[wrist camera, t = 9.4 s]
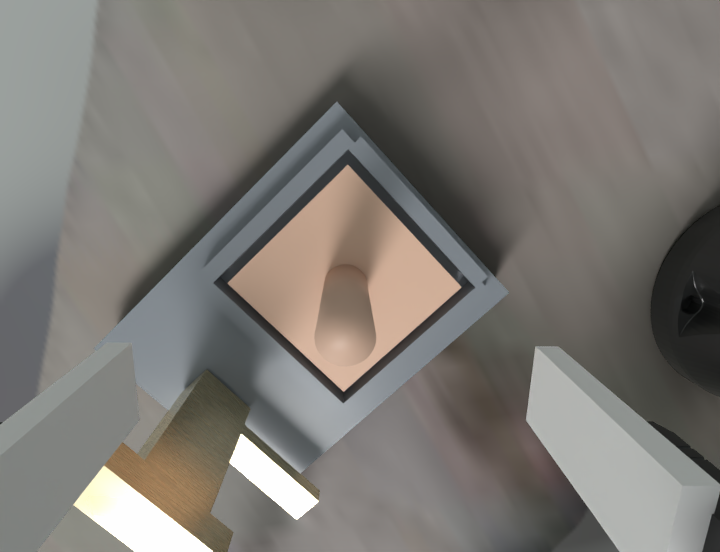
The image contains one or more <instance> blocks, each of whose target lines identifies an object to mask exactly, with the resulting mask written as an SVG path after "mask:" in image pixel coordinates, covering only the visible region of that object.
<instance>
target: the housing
mask: <svg viewBox="0 0 720 552" xmlns="http://www.w3.org/2000/svg"><path fill="white" fill-rule="evenodd" d="M347 165H349V166H350V167H351V169H352V170H353V171H354V172H355V173H356V174H357V175H358V176H359V177H360V178H361V179H362V180H363V181H364V183H365V184H366V185H367V186H368V187H369V188H370V189H371V190H372V191H373V192H374V193H375V194H376V195H377V197H378V198H379V199H380V200H381V201H382V202H383V203H384V204H385V205H386V206H387V207H388V208H389V209H390V211H391V212H392V213H393V214H394V215H395V216H396V217H397V218H398V219H399V220H400V221H401V222H402V223H403V225H404V226H405V227H406V228H407V229H408V230H409V231H410V232H411V233H412V234H413V235H414V236H415V237H416V239H417V240H418V241H419V242H420V243H421V244H422V245H423V246H424V247H425V248H426V249H427V250H428V251H429V253H430V254H431V255H432V256H433V257H434V258H435V259H436V260H437V261H438V262H439V263H440V264H441V265H442V267H443V268H444V269H445V270H446V271H447V272H448V273H449V274H450V275H451V276H452V277H453V278H454V279H455V281H456V282H457V283H458V284H459V285H460V286H461V288H460V289H459V290H458V291H457V292H456V293H455V294H454V295H452V296H451V297H450V298H449V299H448V300H447V301H446V302H445V303H443V304H442V305H441V306H440V307H439V308H438V309H437V310H435V311H434V312H433V313H432V314H431V315H430V316H429V317H428V318H426V319H425V320H424V321H423V322H422V323H421V324H420V325H419V326H417V327H416V328H415V329H414V330H413V331H412V332H411V333H409V334H408V335H407V336H406V337H405V338H404V339H403V340H402V341H400V342H399V343H398V344H397V345H396V346H395V347H394V348H393V349H391V350H390V351H389V352H388V353H387V354H386V355H385V356H383V357H382V358H381V359H380V360H379V361H378V362H377V363H376V364H374V365H373V366H372V367H371V368H370V369H369V370H368V371H367V372H365V373H364V374H363V375H362V376H361V377H360V378H359V379H357V380H356V381H355V382H354V383H353V384H352V385H351V386H350V387H348V388H347V389H346V390H345V391H344V392H343V391H342V390H341V389H340V388H339V387H338V386H337V385H336V384H335V383H334V382H333V381H332V380H330V379H329V378H328V377H327V376H326V375H325V374H324V373H323V372H322V371H321V370H320V369H319V368H318V367H317V366H315V365H314V364H313V363H312V362H311V361H310V360H309V359H308V358H307V357H306V356H305V355H304V354H303V353H302V352H300V351H299V350H298V349H297V348H296V347H295V346H294V345H293V344H292V343H291V342H290V341H289V340H288V339H287V338H285V337H284V336H283V335H282V334H281V333H280V332H279V331H278V330H277V329H276V328H275V327H274V326H273V325H272V324H270V323H269V322H268V321H267V320H266V319H265V318H264V317H263V316H262V315H261V314H260V313H259V312H258V311H257V310H255V309H254V308H253V307H252V306H251V305H250V304H249V303H248V302H247V301H246V300H245V299H244V298H243V297H242V296H240V295H239V294H238V293H237V292H236V291H235V290H234V289H233V288H232V287H231V286H230V285H229V284H228V282H229V281H230V280H231V279H232V278H233V277H234V276H235V275H236V274H237V273H238V272H239V271H240V270H241V269H242V268H243V267H244V266H245V265H246V264H247V263H248V262H249V261H250V260H251V259H252V258H253V257H254V256H255V255H256V254H257V253H259V252H260V251H261V250H262V249H263V248H264V247H265V246H266V245H267V244H268V243H269V242H270V241H271V240H272V239H273V238H274V237H275V236H276V235H277V234H278V233H279V232H280V231H281V230H282V229H283V228H284V227H285V226H286V225H287V224H288V223H289V222H290V221H291V220H292V219H293V218H294V217H295V216H296V215H297V214H298V213H299V212H300V211H301V210H302V209H303V208H304V207H305V206H306V205H307V204H308V203H309V202H310V201H311V200H312V199H313V198H314V197H315V196H316V195H317V194H318V193H319V192H320V191H322V190H323V189H324V188H325V187H326V186H327V185H328V184H329V183H330V182H331V181H332V180H333V179H334V178H335V177H336V176H337V175H338V174H339V173H340V172H341V171H342V170H343V169H344V168H345V167H346V166H347ZM508 293H509V292H508V291H507V290H506V289H505V287H504V286H503V285H502V284H501V283H500V282H499V281H498V280H497V279H496V277H495V276H494V275H493V274H492V273H491V272H490V271H489V270H488V269H487V267H486V266H485V265H484V264H483V263H482V262H481V261H480V260H479V259H478V257H477V256H476V255H475V254H474V253H473V252H472V251H471V250H470V249H469V247H468V246H467V245H466V244H465V243H464V242H463V241H462V240H461V239H460V237H459V236H458V235H457V234H456V233H455V232H454V231H453V230H452V229H451V228H450V226H449V225H448V224H447V223H446V222H445V221H444V220H443V219H442V218H441V216H440V215H439V214H438V213H437V212H436V211H435V210H434V209H433V208H432V206H431V205H430V204H429V203H428V202H427V201H426V200H425V199H424V198H423V196H422V195H421V194H420V193H419V192H418V191H417V190H416V189H415V188H414V186H413V185H412V184H411V183H410V182H409V181H408V180H407V179H406V178H405V177H404V175H403V174H402V173H401V172H400V171H399V170H398V169H397V168H396V167H395V165H394V164H393V163H392V162H391V161H390V160H389V159H388V158H387V157H386V155H385V154H384V153H383V152H382V151H381V150H380V149H379V148H378V147H377V145H376V144H375V143H374V142H373V141H372V140H371V139H370V138H369V137H368V135H367V134H366V133H365V132H364V131H363V130H362V129H361V128H360V127H359V126H358V124H357V123H356V122H355V121H354V120H353V119H352V118H351V117H350V116H349V114H348V113H347V112H346V111H345V110H344V109H343V108H342V107H341V106H340V104H339V103H338V102H336V103H335V104H334V105H333V106H332V107H331V108H330V109H329V110H328V111H327V112H326V113H325V114H324V115H323V116H322V117H321V118H320V119H319V120H318V121H317V122H316V123H315V124H314V125H313V126H312V127H311V128H310V129H309V130H308V131H307V132H306V133H305V134H304V135H303V136H302V137H301V138H300V139H299V140H298V141H297V142H296V143H295V144H294V145H293V146H292V147H291V148H290V149H289V150H288V152H287V153H286V154H285V155H284V156H283V157H282V158H281V159H280V160H279V161H278V162H277V163H276V164H275V165H274V166H273V167H272V168H271V169H270V170H269V171H268V172H267V173H266V174H265V175H264V176H263V177H262V178H261V179H260V180H259V181H258V182H257V183H256V184H255V185H254V186H253V187H252V188H251V189H250V190H249V191H248V192H247V193H246V194H245V195H244V196H243V197H242V198H241V199H240V200H239V201H238V202H237V203H236V204H235V205H234V206H233V207H232V208H231V209H230V211H229V212H228V213H227V214H226V215H225V216H224V217H223V218H222V219H221V220H220V221H219V222H218V223H217V224H216V225H215V226H214V227H213V228H212V229H211V230H210V231H209V232H208V233H207V234H206V235H205V236H204V237H203V238H202V239H201V240H200V241H199V242H198V243H197V244H196V245H195V246H194V247H193V248H192V249H191V250H190V251H189V252H188V253H187V254H186V255H185V256H184V257H183V258H182V259H181V260H180V261H179V262H178V263H177V264H176V265H175V266H174V267H173V268H172V270H171V271H170V272H169V273H168V274H167V275H166V276H165V277H164V278H163V279H162V280H161V281H160V282H159V283H158V284H157V285H156V286H155V287H154V288H153V289H152V290H151V291H150V292H149V293H148V294H147V295H146V296H145V297H144V298H143V299H142V300H141V301H140V302H139V303H138V304H137V305H136V306H135V307H134V308H133V309H132V310H131V311H130V312H129V313H128V314H127V315H126V316H125V317H124V318H123V319H122V320H121V321H120V322H119V323H118V324H117V325H116V326H115V328H114V329H113V330H112V331H111V332H110V333H109V334H108V335H107V336H106V337H105V338H104V339H103V340H102V341H101V342H100V343H99V344H98V345H97V346H96V347H95V348H94V349H95V350H96V351H97V350H98V349H99V348H101V347H102V346H103V345H104V344H106V343H132V351H133V361H134V370H135V380H136V384H137V385H138V386H139V387H141V388H142V389H143V390H144V391H145V392H147V393H148V394H149V395H150V396H151V397H153V398H154V399H155V400H156V401H157V402H159V403H160V404H161V405H162V406H164V407H165V408H166V409H167V410H168V411H169V409H170V408H171V406H172V405H173V404H174V402H175V401H176V400H177V398H178V397H179V395H180V394H181V393H182V391H184V390H185V389H186V388H187V387H188V386H189V385H190V384H191V383H192V382H193V381H194V380H195V379H197V378H198V377H199V376H200V375H201V374H202V373H203V372H204V371H205V370H206V369H207V370H208V371H209V372H211V373H212V374H213V375H214V376H215V377H216V378H217V379H218V380H220V381H221V382H222V383H223V384H224V385H225V386H226V387H227V388H228V389H230V390H231V391H232V392H233V393H234V394H235V395H236V396H237V397H239V398H240V399H241V400H242V401H243V402H244V403H245V404H246V405H247V406H249V407H250V408H251V410H250V412H249V415H248V417H247V420H246V422H245V425H246V426H247V427H248V428H249V429H250V430H251V431H252V432H254V433H255V434H256V435H257V436H258V437H259V438H260V439H262V440H263V441H264V442H265V443H266V444H267V445H268V446H270V447H271V448H272V449H273V450H274V451H275V452H276V453H277V454H279V455H280V456H281V457H282V458H283V459H284V460H285V461H287V462H288V463H289V464H290V465H291V466H292V467H293V468H294V469H296V470H297V471H298V472H299V473H301V472H302V471H304V470H305V469H306V468H307V467H308V466H309V465H310V464H312V463H313V462H314V461H315V460H316V459H317V458H319V457H320V456H321V455H322V454H323V453H324V452H325V451H327V450H328V449H329V448H330V447H331V446H332V445H334V444H335V443H336V442H337V441H338V440H339V439H341V438H342V437H343V436H344V435H345V434H346V433H347V432H349V431H350V430H351V429H352V428H353V427H354V426H356V425H357V424H358V423H359V422H360V421H361V420H362V419H364V418H365V417H366V416H367V415H368V414H369V413H371V412H372V411H373V410H374V409H375V408H376V407H377V406H379V405H380V404H381V403H382V402H383V401H384V400H386V399H387V398H388V397H389V396H390V395H391V394H393V393H394V392H395V391H396V390H397V389H398V388H399V387H401V386H402V385H403V384H404V383H405V382H406V381H408V380H409V379H410V378H411V377H412V376H413V375H414V374H416V373H417V372H418V371H419V370H420V369H421V368H423V367H424V366H425V365H426V364H427V363H428V362H430V361H431V360H432V359H433V358H434V357H435V356H436V355H438V354H439V353H440V352H441V351H442V350H443V349H445V348H446V347H447V346H448V345H449V344H450V343H451V342H453V341H454V340H455V339H456V338H457V337H458V336H460V335H461V334H462V333H463V332H464V331H465V330H467V329H468V328H469V327H470V326H471V325H472V324H473V323H475V322H476V321H477V320H478V319H479V318H480V317H482V316H483V315H484V314H485V313H486V312H487V311H488V310H490V309H491V308H492V307H493V306H494V305H495V304H497V303H498V302H499V301H500V300H501V299H502V298H504V297H505V296H506V295H507V294H508Z"/></svg>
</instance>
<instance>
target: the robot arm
mask: <svg viewBox="0 0 720 552" xmlns="http://www.w3.org/2000/svg"><path fill="white" fill-rule="evenodd" d="M651 323H652V329H653V334H654V337H655V340H656V343H657V345H658V347H659V349H660V351H661V353H662V355H663V356H664V358H665V359H666V360H667V362H668V363H669V364H670V365H671V366H672V367H673V368H674V369H675V370H676V371H677V372H678V373H680V374H681V375H682V376H684V377H685V378H687V379H689V380H690V381H692V382H693V383H695V384H697V385H698V386H700V387H702V388H703V389H705V390H706V391H708V392H710V393H712V394H714V395H717V396H719V397H720V206H718V207H716V208H715V209H713V210H711V211H710V212H708V213H707V214H706V215H704V216H703V217H702V218H700V219H699V220H698V221H697V222H695V223H694V224H693V225H692V226H691V227H690V228H689V229H688V230H687V231H686V232H685V233H684V234H683V235H682V236H681V238H680V239H679V240H678V241H677V242H676V244H675V245H674V246H673V248H672V249H671V251H670V252H669V254H668V256H667V257H666V259H665V261H664V263H663V265H662V267H661V269H660V271H659V274H658V276H657V279H656V282H655V286H654V289H653V294H652V301H651ZM139 420H140V418H139V408H138V399H137V389H136V380H135V370H134V361H133V351H132V343H106V344H104V345H103V346H102V347H101V348H99V349H98V350H97V351H95V352H94V353H93V354H91V355H90V356H89V357H88V358H86V359H85V360H84V361H82V362H81V363H80V364H78V365H77V366H76V367H75V368H73V369H72V370H71V371H69V372H68V373H67V374H65V375H64V376H63V377H62V378H60V379H59V380H58V381H56V382H55V383H54V384H52V385H51V386H50V387H49V388H47V389H46V390H45V391H43V392H42V393H41V394H39V395H38V396H37V397H36V398H34V399H33V400H32V401H30V402H29V403H28V404H27V405H25V406H24V407H23V408H21V409H20V410H19V411H17V412H16V413H15V414H14V415H12V416H11V417H10V418H8V419H7V420H6V421H4V422H1V423H0V552H37V550H38V549H39V548H40V546H41V545H42V544H43V543H44V541H45V540H46V539H47V538H48V536H49V535H50V534H51V532H52V531H53V530H54V529H55V527H56V526H57V525H58V523H59V522H60V521H61V520H62V518H63V517H64V516H65V515H66V513H67V512H68V511H69V509H70V508H71V507H72V506H73V504H74V503H75V502H76V500H77V499H78V498H79V497H80V495H81V494H82V493H83V492H84V490H85V489H86V488H87V486H88V485H89V484H90V483H91V481H92V480H93V479H94V478H95V476H96V475H97V474H98V472H99V471H100V470H101V469H102V467H103V466H104V465H105V463H106V462H107V461H108V460H109V458H110V457H111V456H112V455H113V453H114V452H115V451H116V449H117V448H118V447H119V446H120V444H121V443H122V442H123V441H124V439H125V438H126V437H127V435H128V434H129V433H130V432H131V430H132V429H133V428H134V426H135V425H136V424H137V423H138V421H139ZM526 421H527V422H528V424H529V425H530V427H531V428H532V429H533V431H534V432H535V434H536V435H537V436H538V438H539V439H540V441H541V442H542V443H543V445H544V446H545V448H546V449H547V450H548V452H549V453H550V455H551V456H552V457H553V459H554V460H555V462H556V463H557V464H558V466H559V467H560V469H561V470H562V471H563V473H564V474H565V476H566V477H567V478H568V480H569V481H570V483H571V484H572V485H573V487H574V488H575V490H576V491H577V492H578V494H579V495H580V497H581V498H582V499H583V501H584V502H585V504H586V505H587V506H588V508H589V509H590V511H591V512H592V513H593V515H594V516H595V518H596V519H597V520H598V522H599V523H600V525H601V526H602V527H603V529H604V530H605V532H606V533H607V534H608V536H609V537H610V539H611V540H612V541H613V543H614V544H615V546H616V547H617V549H618V550H619V551H620V552H720V470H719V469H718V468H716V467H715V466H714V465H713V464H711V463H710V462H709V461H708V460H704V457H703V456H702V455H700V454H699V453H698V452H697V451H695V450H694V449H691V448H690V446H689V445H688V444H687V443H686V442H684V441H683V440H682V439H681V438H680V437H678V436H677V435H676V434H675V433H673V432H671V431H669V430H667V429H665V428H664V427H662V426H660V425H658V424H656V423H654V422H646V421H645V420H644V419H643V418H642V417H641V416H639V415H638V414H637V413H636V412H635V411H633V410H632V409H631V408H630V407H629V406H628V405H626V404H625V403H624V402H623V401H622V400H621V399H619V398H618V397H617V396H616V395H615V394H614V393H612V392H611V391H610V390H609V389H608V388H606V387H605V386H604V385H603V384H602V383H601V382H599V381H598V380H597V379H596V378H595V377H594V376H592V375H591V374H590V373H589V372H588V371H587V370H585V369H584V368H583V367H582V366H581V365H579V364H578V363H577V362H576V361H575V360H574V359H572V358H571V357H570V356H569V355H568V354H567V353H565V352H564V351H563V350H562V349H561V348H560V347H558V346H536V348H535V355H534V363H533V371H532V378H531V386H530V394H529V401H528V409H527V417H526Z"/></svg>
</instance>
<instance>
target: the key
mask: <svg viewBox="0 0 720 552" xmlns="http://www.w3.org/2000/svg"><path fill="white" fill-rule="evenodd" d="M250 410H251V408H250V407H249V406H247V405H246V404H245V403H244V402H243V401H242V400H241V399H240V398H239V397H237V396H236V395H235V394H234V393H233V392H232V391H231V390H230V389H228V388H227V387H226V386H225V385H224V384H223V383H222V382H221V381H220V380H218V379H217V378H216V377H215V376H214V375H213V374H212V373H211V372H209V371H208V370H207V369H206V370H205V371H204V372H203V373H202V374H201V375H200V376H199V377H198V378H197V379H195V380H194V381H193V382H192V383H191V384H190V385H189V386H188V387H187V388H186V389H185V390H184V391H182V393H181V394H180V395H179V397H178V398H177V400H176V401H175V402H174V404H173V405H172V406H171V408H170V409H169V411H168V412H167V413H166V415H165V416H164V418H163V419H162V420H161V422H160V423H159V424H158V426H157V427H156V429H155V430H154V431H153V433H152V434H151V436H150V437H149V438H148V440H147V441H146V442H145V444H144V445H143V447H142V448H141V449H140V451H139V452H138V454H136V453H135V452H134V451H133V450H131V449H130V448H129V447H128V446H126V445H125V444H124V443H123V442H122V443H121V444H120V446H119V447H118V448H117V449H116V451H115V452H114V453H113V455H112V456H111V457H110V458H109V460H108V461H107V462H106V463H105V465H104V466H103V467H102V469H101V470H100V471H99V472H98V474H97V475H96V476H95V478H94V479H93V480H92V481H91V483H90V484H89V485H88V486H87V488H86V489H85V490H84V492H83V493H82V494H81V495H80V497H79V498H78V499H77V500H76V502H75V503H74V504H73V505H74V506H76V507H77V508H78V509H80V510H81V511H82V512H84V513H85V514H86V515H88V516H89V517H90V518H92V519H93V520H94V521H95V522H97V523H98V524H99V525H101V526H102V527H103V528H105V529H106V530H107V531H109V532H110V533H111V534H113V535H114V536H115V537H117V538H118V539H119V540H121V541H122V542H123V543H125V544H126V545H127V546H129V547H130V548H131V549H133V550H134V551H135V552H227V551H228V548H229V545H230V541H231V538H232V535H233V532H232V531H231V530H230V529H229V528H227V527H226V526H225V525H224V524H223V523H221V522H220V521H219V520H218V519H216V518H215V517H214V516H213V515H211V514H210V512H211V509H212V507H213V504H214V502H215V499H216V497H217V494H218V492H219V489H220V486H221V484H222V481H223V479H224V476H225V474H226V471H227V468H228V466H229V463H231V464H232V465H233V466H234V467H236V468H237V469H238V470H239V471H240V472H241V473H243V474H244V475H245V476H246V477H247V478H249V479H250V480H251V481H252V482H253V483H254V484H256V485H257V486H258V487H259V488H260V489H261V490H263V491H264V492H265V493H266V494H267V495H269V496H270V497H271V498H272V499H273V500H274V501H276V502H277V503H278V504H279V505H280V506H281V507H283V508H284V509H285V510H286V511H287V512H288V513H290V514H291V515H292V516H293V517H294V518H296V519H298V518H299V517H301V516H302V515H303V514H304V513H305V512H307V511H308V510H309V509H310V508H311V507H313V506H314V505H315V504H316V503H318V502H319V492H320V491H319V490H318V489H317V488H316V487H315V486H314V485H313V484H311V483H310V482H309V481H308V480H307V479H306V478H305V477H304V476H302V475H301V474H300V473H299V472H298V471H297V470H296V469H294V468H293V467H292V466H291V465H290V464H289V463H288V462H287V461H285V460H284V459H283V458H282V457H281V456H280V455H279V454H277V453H276V452H275V451H274V450H273V449H272V448H271V447H270V446H268V445H267V444H266V443H265V442H264V441H263V440H262V439H260V438H259V437H258V436H257V435H256V434H255V433H254V432H252V431H251V430H250V429H249V428H248V427H247V426H246V425H245V422H246V420H247V417H248V415H249V412H250Z"/></svg>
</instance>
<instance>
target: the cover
mask: <svg viewBox="0 0 720 552" xmlns="http://www.w3.org/2000/svg"><path fill="white" fill-rule="evenodd" d="M228 284H229V285H230V286H231V287H232V288H233V289H234V290H235V291H236V292H237V293H238V294H239V295H240V296H242V297H243V298H244V299H245V300H246V301H247V302H248V303H249V304H250V305H251V306H252V307H253V308H254V309H255V310H257V311H258V312H259V313H260V314H261V315H262V316H263V317H264V318H265V319H266V320H267V321H268V322H269V323H270V324H272V325H273V326H274V327H275V328H276V329H277V330H278V331H279V332H280V333H281V334H282V335H283V336H284V337H285V338H287V339H288V340H289V341H290V342H291V343H292V344H293V345H294V346H295V347H296V348H297V349H298V350H299V351H300V352H302V353H303V354H304V355H305V356H306V357H307V358H308V359H309V360H310V361H311V362H312V363H313V364H314V365H315V366H317V367H318V368H319V369H320V370H321V371H322V372H323V373H324V374H325V375H326V376H327V377H328V378H329V379H330V380H332V381H333V382H334V383H335V384H336V385H337V386H338V387H339V388H340V389H341V390H342V391H343V392H344V391H345V390H346V389H347V388H348V387H350V386H351V385H352V384H353V383H354V382H355V381H356V380H357V379H359V378H360V377H361V376H362V375H363V374H364V373H365V372H367V371H368V370H369V369H370V368H371V367H372V366H373V365H374V364H376V363H377V362H378V361H379V360H380V359H381V358H382V357H383V356H385V355H386V354H387V353H388V352H389V351H390V350H391V349H393V348H394V347H395V346H396V345H397V344H398V343H399V342H400V341H402V340H403V339H404V338H405V337H406V336H407V335H408V334H409V333H411V332H412V331H413V330H414V329H415V328H416V327H417V326H419V325H420V324H421V323H422V322H423V321H424V320H425V319H426V318H428V317H429V316H430V315H431V314H432V313H433V312H434V311H435V310H437V309H438V308H439V307H440V306H441V305H442V304H443V303H445V302H446V301H447V300H448V299H449V298H450V297H451V296H452V295H454V294H455V293H456V292H457V291H458V290H459V289H460V288H461V286H460V285H459V284H458V283H457V282H456V281H455V279H454V278H453V277H452V276H451V275H450V274H449V273H448V272H447V271H446V270H445V269H444V268H443V267H442V265H441V264H440V263H439V262H438V261H437V260H436V259H435V258H434V257H433V256H432V255H431V254H430V253H429V251H428V250H427V249H426V248H425V247H424V246H423V245H422V244H421V243H420V242H419V241H418V240H417V239H416V237H415V236H414V235H413V234H412V233H411V232H410V231H409V230H408V229H407V228H406V227H405V226H404V225H403V223H402V222H401V221H400V220H399V219H398V218H397V217H396V216H395V215H394V214H393V213H392V212H391V211H390V209H389V208H388V207H387V206H386V205H385V204H384V203H383V202H382V201H381V200H380V199H379V198H378V197H377V195H376V194H375V193H374V192H373V191H372V190H371V189H370V188H369V187H368V186H367V185H366V184H365V183H364V181H363V180H362V179H361V178H360V177H359V176H358V175H357V174H356V173H355V172H354V171H353V170H352V169H351V167H350V166H349V165H347V166H346V167H345V168H344V169H343V170H342V171H341V172H340V173H339V174H338V175H337V176H336V177H335V178H334V179H333V180H332V181H331V182H330V183H329V184H328V185H327V186H326V187H325V188H324V189H323V190H322V191H320V192H319V193H318V194H317V195H316V196H315V197H314V198H313V199H312V200H311V201H310V202H309V203H308V204H307V205H306V206H305V207H304V208H303V209H302V210H301V211H300V212H299V213H298V214H297V215H296V216H295V217H294V218H293V219H292V220H291V221H290V222H289V223H288V224H287V225H286V226H285V227H284V228H283V229H282V230H281V231H280V232H279V233H278V234H277V235H276V236H275V237H274V238H273V239H272V240H271V241H270V242H269V243H268V244H267V245H266V246H265V247H264V248H263V249H262V250H261V251H260V252H259V253H257V254H256V255H255V256H254V257H253V258H252V259H251V260H250V261H249V262H248V263H247V264H246V265H245V266H244V267H243V268H242V269H241V270H240V271H239V272H238V273H237V274H236V275H235V276H234V277H233V278H232V279H231V280H230V281H229V282H228Z"/></svg>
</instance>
